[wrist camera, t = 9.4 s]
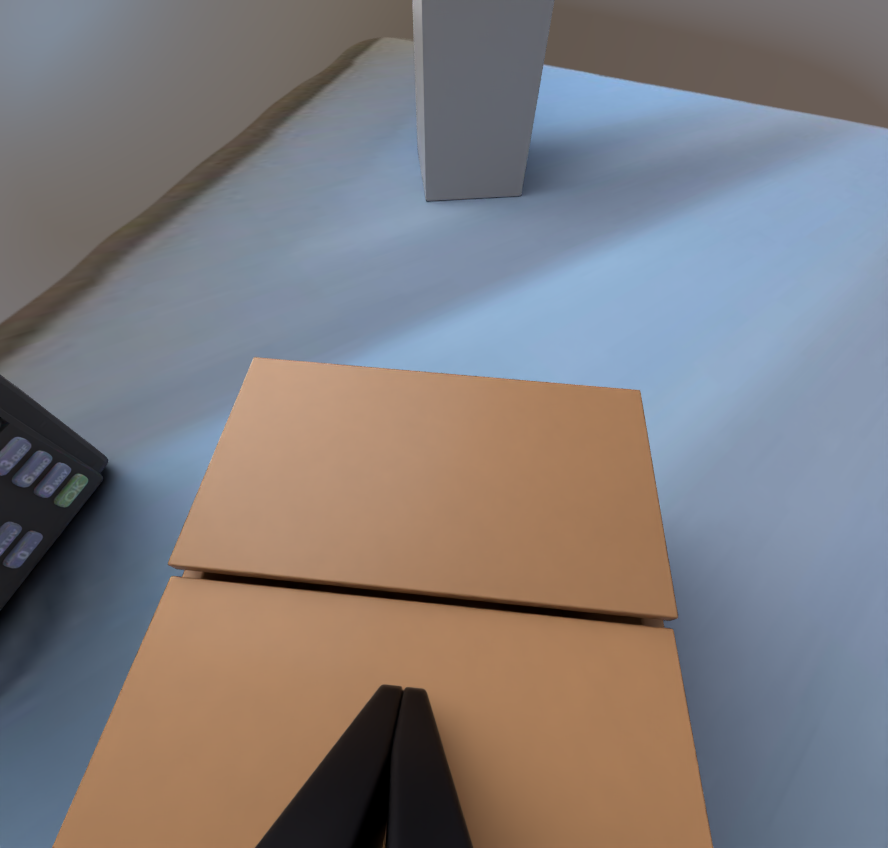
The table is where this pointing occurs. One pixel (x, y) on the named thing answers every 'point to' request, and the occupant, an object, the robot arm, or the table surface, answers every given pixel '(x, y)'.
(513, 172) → the perfume bottle
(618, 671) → the lid flap
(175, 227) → the table surface
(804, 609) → the table surface
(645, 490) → the carton
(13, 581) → the card reader
